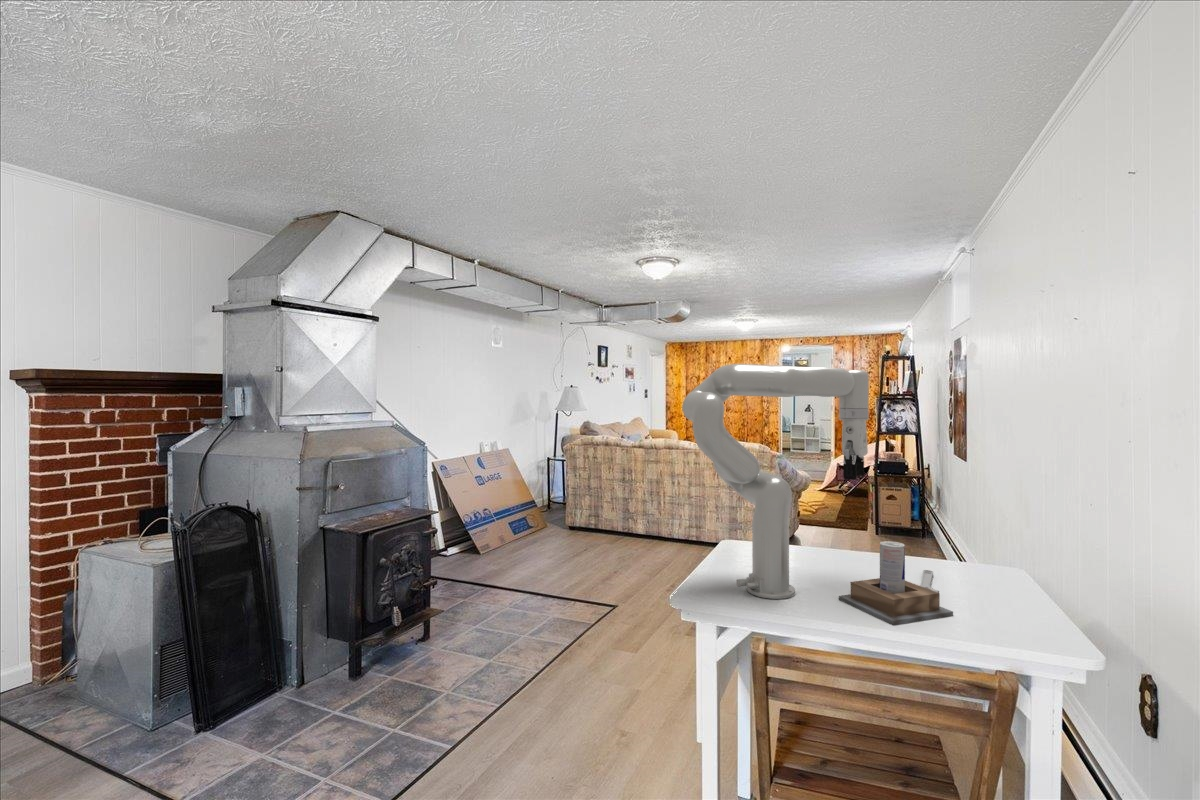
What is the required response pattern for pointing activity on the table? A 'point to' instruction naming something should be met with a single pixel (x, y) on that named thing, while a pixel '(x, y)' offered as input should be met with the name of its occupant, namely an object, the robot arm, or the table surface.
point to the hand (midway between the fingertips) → (853, 477)
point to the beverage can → (892, 567)
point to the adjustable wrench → (927, 580)
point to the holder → (895, 602)
